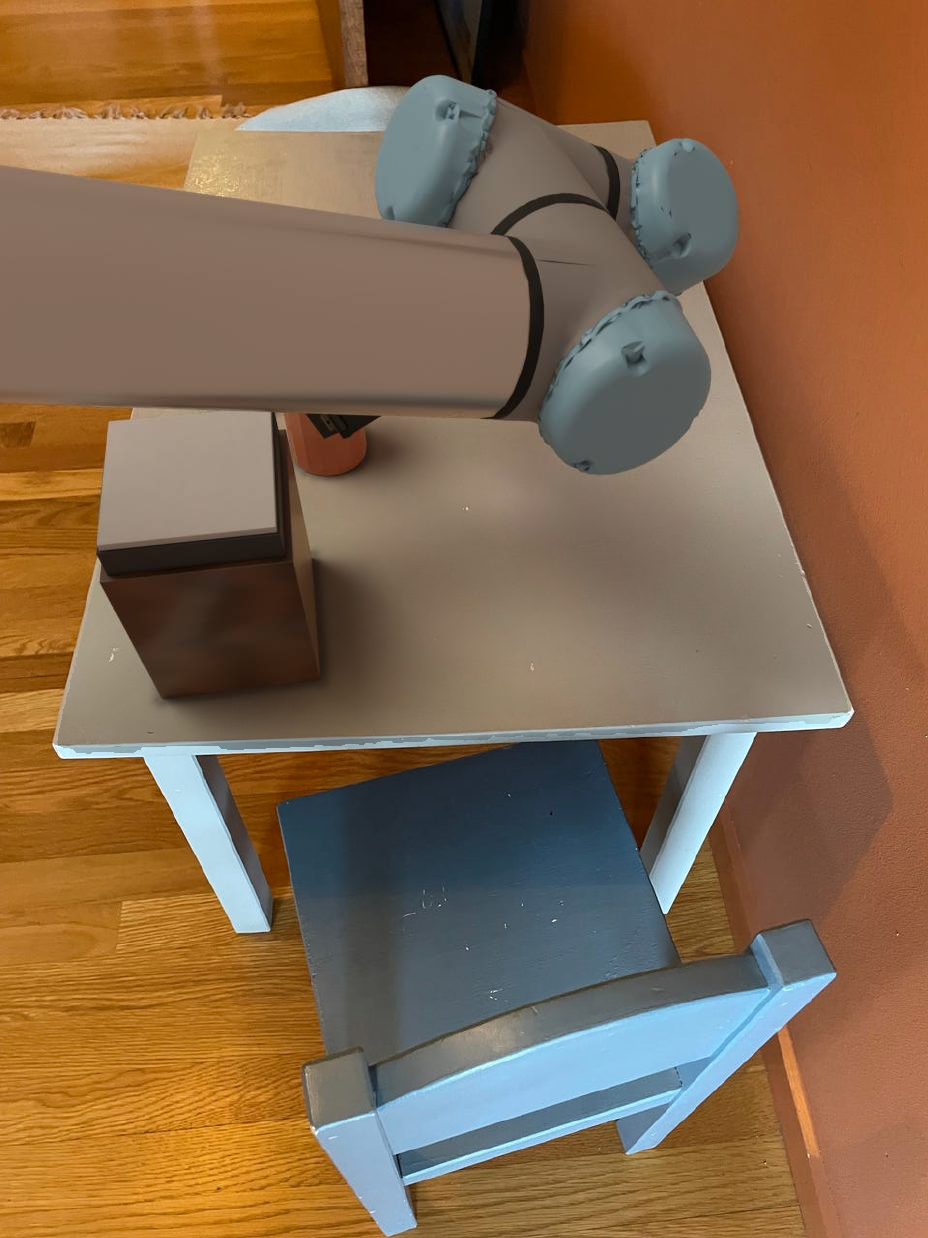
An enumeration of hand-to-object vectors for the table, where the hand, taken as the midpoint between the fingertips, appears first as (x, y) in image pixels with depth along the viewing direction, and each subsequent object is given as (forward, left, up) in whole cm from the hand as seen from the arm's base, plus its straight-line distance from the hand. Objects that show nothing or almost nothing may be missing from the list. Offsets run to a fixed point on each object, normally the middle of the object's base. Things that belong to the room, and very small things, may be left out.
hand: (369, 378), depth 78 cm
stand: (-13, -16, -12) cm, 24 cm away
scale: (-13, -16, +4) cm, 21 cm away
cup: (-4, +4, -12) cm, 14 cm away
